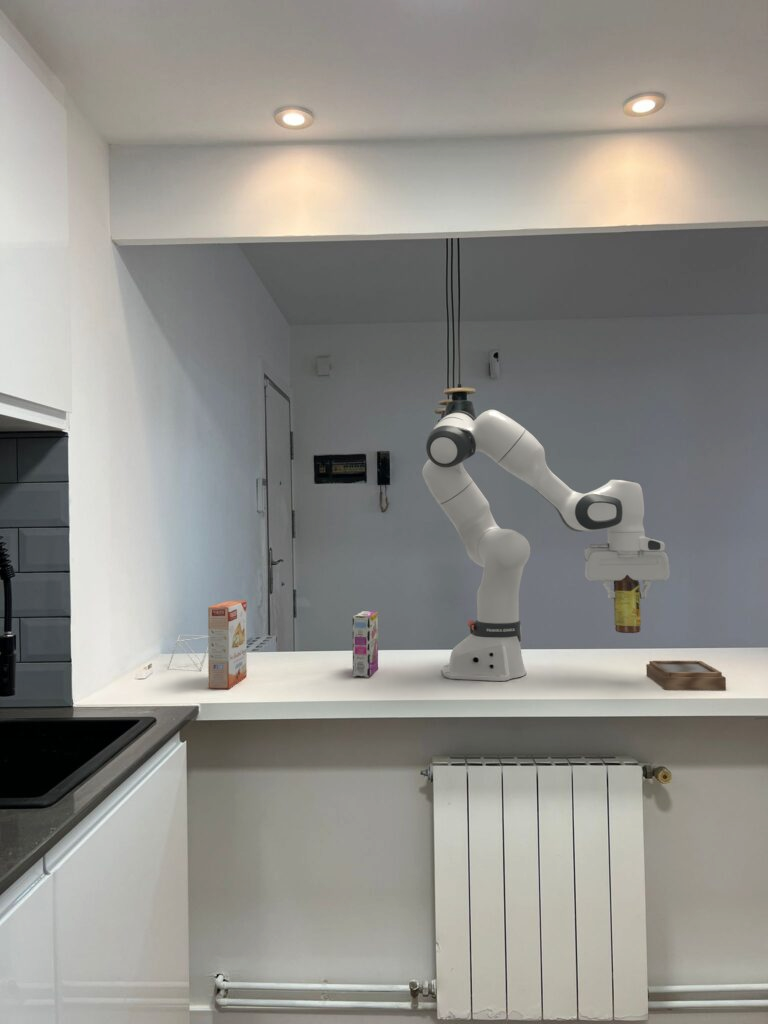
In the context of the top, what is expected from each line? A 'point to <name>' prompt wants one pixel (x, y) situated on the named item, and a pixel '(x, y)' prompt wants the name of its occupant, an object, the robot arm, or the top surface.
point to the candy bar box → (365, 644)
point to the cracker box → (227, 644)
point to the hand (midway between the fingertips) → (627, 598)
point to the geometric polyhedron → (187, 654)
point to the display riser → (685, 675)
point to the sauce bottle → (627, 605)
